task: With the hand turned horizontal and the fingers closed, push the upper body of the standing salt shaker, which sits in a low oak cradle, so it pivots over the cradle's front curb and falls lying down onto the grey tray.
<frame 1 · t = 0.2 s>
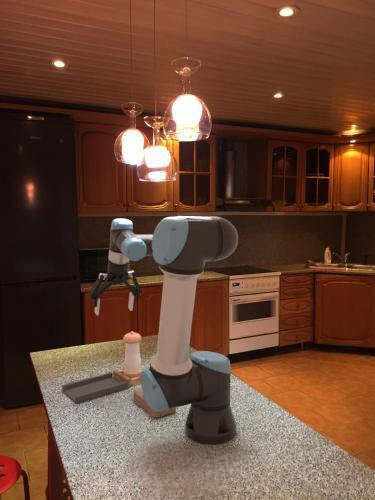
hand: (113, 311, 153), 28 cm above the countertop, tool tilted 20°, fingers open, 13 cm apart
brick: (153, 407, 135), on the countertop
salt shaker: (132, 379, 157), resting in oak cradle
grey tray: (95, 390, 147), on the countertop
oak cradle: (132, 379, 157), on the countertop
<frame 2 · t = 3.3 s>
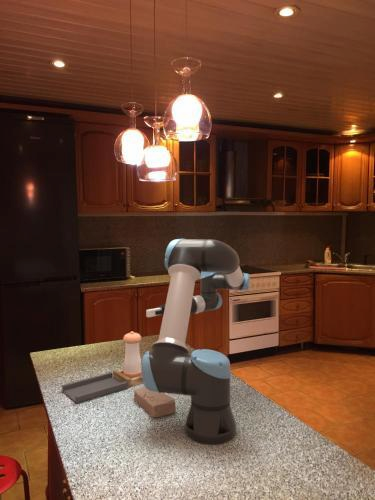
hand: (147, 313, 160), 25 cm above the countertop, tool horizontal, fingers closed
nothing on the countertop moved.
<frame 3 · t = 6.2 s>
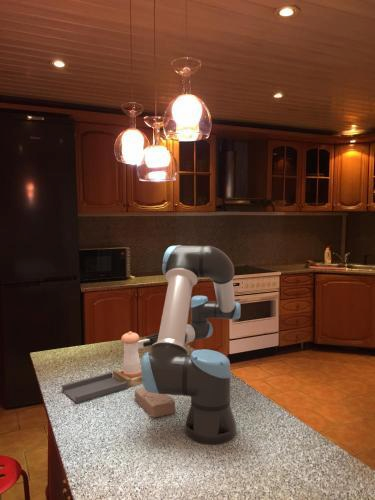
hand: (135, 345, 158), 13 cm above the countertop, tool horizontal, fingers closed
salt shaker: (132, 379, 157), resting in oak cradle, touching gripper
everything else where it was.
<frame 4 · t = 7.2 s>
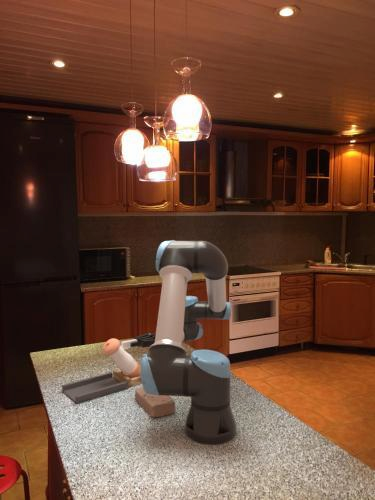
hand: (121, 345, 154), 14 cm above the countertop, tool horizontal, fingers closed
salt shaker: (134, 373, 158), point 2 cm above the countertop, touching gripper
everything else where it was.
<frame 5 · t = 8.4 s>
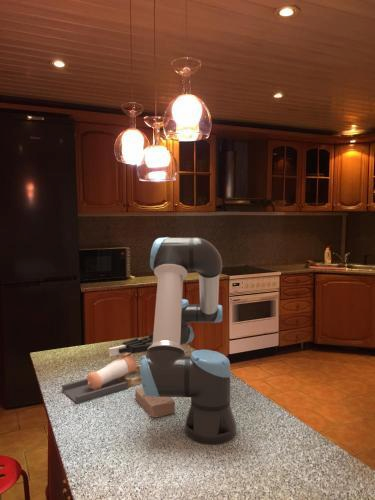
hand: (109, 352, 150), 13 cm above the countertop, tool horizontal, fingers closed
salt shaker: (131, 361, 156), point 7 cm above the countertop, touching grey tray, oak cradle
everything else where it was.
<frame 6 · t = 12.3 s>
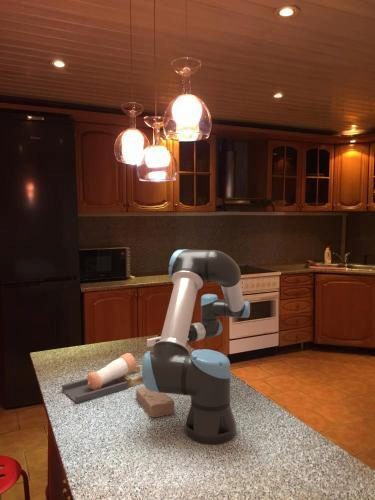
hand: (147, 343, 161), 13 cm above the countertop, tool horizontal, fingers closed
nothing on the countertop moved.
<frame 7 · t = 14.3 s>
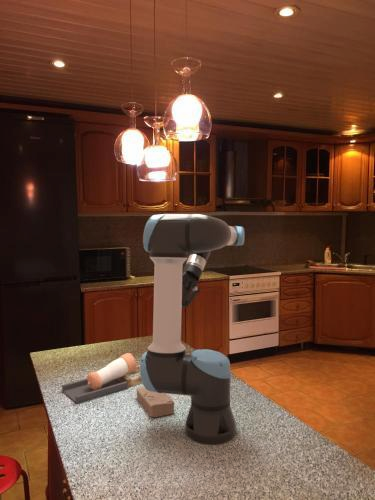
hand: (172, 319, 153), 24 cm above the countertop, tool tilted 40°, fingers closed
nothing on the countertop moved.
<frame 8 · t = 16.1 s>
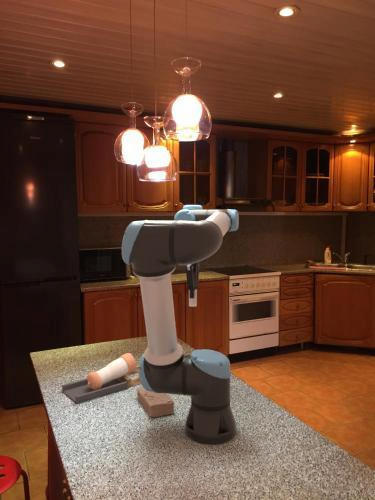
hand: (192, 306, 154), 29 cm above the countertop, tool pointing down, fingers closed
nothing on the countertop moved.
at the end: salt shaker tilted 101°; salt shaker touching grey tray, oak cradle; the gripper is holding nothing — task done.
